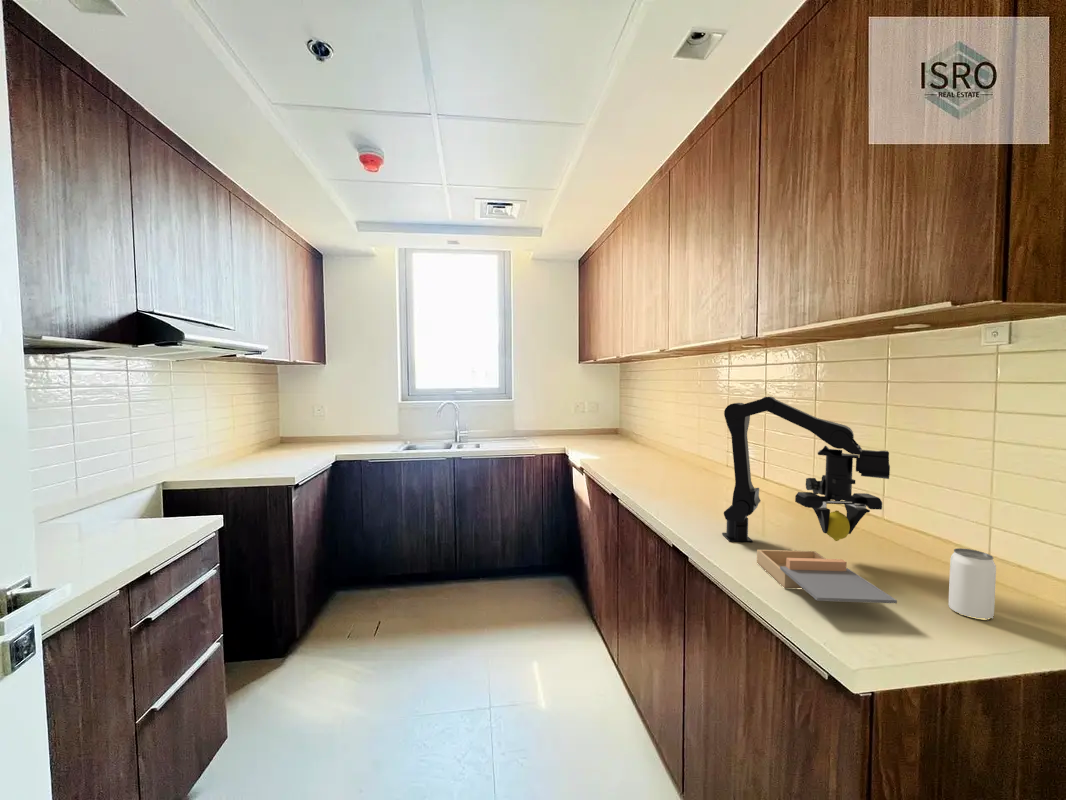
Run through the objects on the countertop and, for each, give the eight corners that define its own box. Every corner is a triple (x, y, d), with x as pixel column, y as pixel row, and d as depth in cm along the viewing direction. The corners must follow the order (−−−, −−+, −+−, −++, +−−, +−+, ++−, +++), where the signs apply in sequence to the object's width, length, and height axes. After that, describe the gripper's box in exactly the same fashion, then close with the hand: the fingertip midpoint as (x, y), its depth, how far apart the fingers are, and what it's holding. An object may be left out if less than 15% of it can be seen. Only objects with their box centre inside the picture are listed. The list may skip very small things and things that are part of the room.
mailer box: (756, 563, 113) (757, 549, 113) (814, 564, 112) (814, 551, 112) (784, 588, 99) (784, 573, 99) (850, 591, 98) (850, 575, 98)
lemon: (830, 536, 120) (831, 506, 120) (853, 542, 115) (854, 511, 115) (819, 539, 118) (820, 509, 117) (841, 546, 113) (842, 514, 112)
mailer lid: (780, 568, 101) (780, 557, 100) (847, 570, 100) (848, 559, 100) (817, 600, 86) (817, 587, 86) (896, 603, 85) (897, 589, 85)
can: (1000, 624, 85) (1003, 562, 84) (956, 616, 88) (959, 556, 87) (984, 609, 91) (986, 550, 90) (942, 602, 94) (945, 545, 93)
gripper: (855, 468, 123) (853, 524, 124) (785, 466, 124) (784, 522, 125) (885, 476, 112) (882, 538, 113) (807, 475, 113) (805, 536, 114)
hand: (836, 533), depth 116 cm, fingers closed on lemon, 5 cm apart
